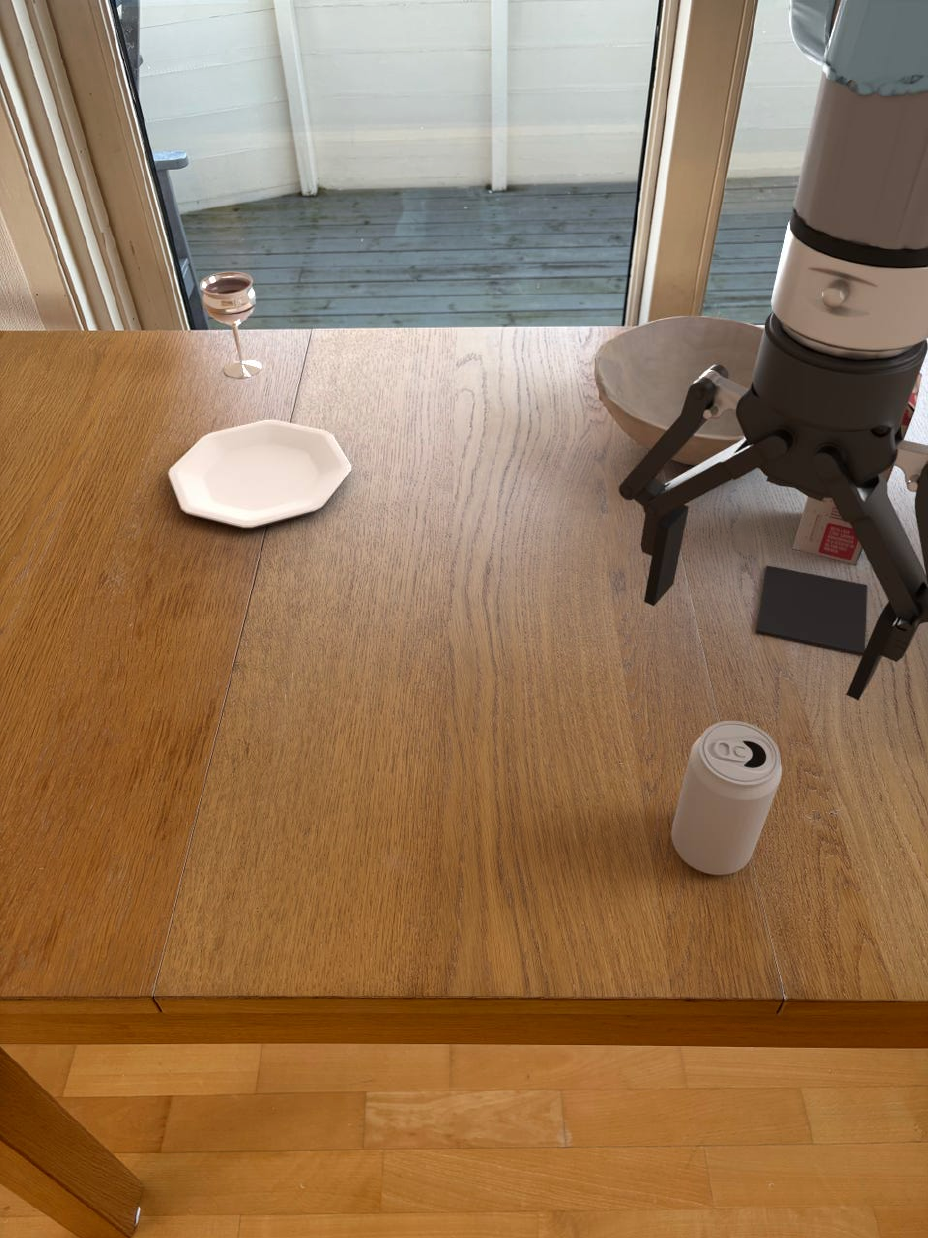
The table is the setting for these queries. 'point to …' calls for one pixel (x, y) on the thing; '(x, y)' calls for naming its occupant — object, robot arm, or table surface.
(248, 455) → the plate
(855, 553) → the juice carton
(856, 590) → the coaster
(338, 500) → the table surface
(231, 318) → the wineglass
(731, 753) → the beverage can
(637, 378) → the bowl
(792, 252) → the robot arm
